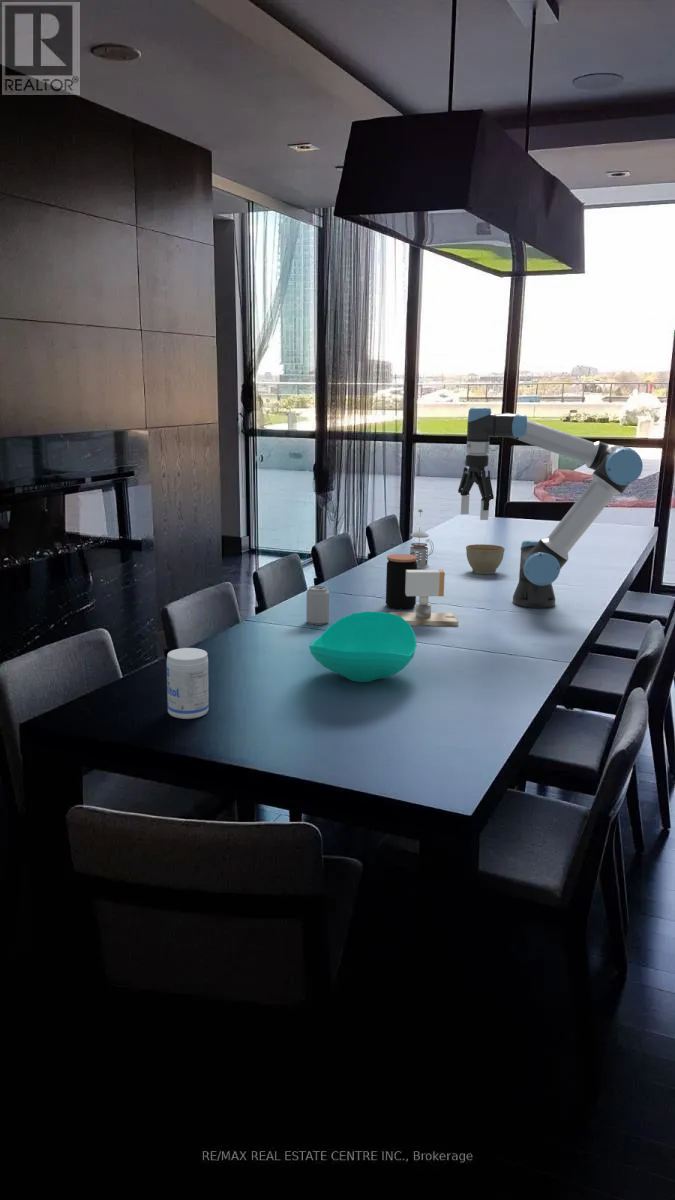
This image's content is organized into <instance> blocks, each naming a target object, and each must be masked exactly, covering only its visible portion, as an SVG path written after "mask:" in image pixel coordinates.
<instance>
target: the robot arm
mask: <svg viewBox="0 0 675 1200" xmlns="http://www.w3.org/2000/svg"><path fill="white" fill-rule="evenodd" d="M466 429H467V431H466V445H465V447H466V456H465V465H466V466H464V467H463V473H462V477H461V479H460V483H459V486H458V490H457V493H459V494H460V496H461V498H460V502H461V503H460V515H461V516H462V515H469V513H470V511H469V510H470V491H471V490H472V487H473V485H474V484H475V485H477V487H478V489H479V494H480V496H481V499H480V514H479V520H480V521H488V520H489V512H490V511H489V510H490V501H491V500H494V491H493V486H492V479H491V471H490V470H487V469H486V467H488V466H489V455H488V454H489V453H490V437H492V438H494V437H495V438H502V437H503V438H511V439H515V440H518V441H521V442H523V443H526V444H528V445H532V446H535V447H538V448H541V449H544V450H546V451H549V452H552V453H554V454H557V455H559V456H563V457H565V458H569V459H571V460H574V461H578V462H579V463H583V464H585V466H586V467H587V468H588V469H591V470H593V472H592V481H591V482H590V483H589V485H588V486H587V487H586V488H585V489H584V491H583V492H582V494H581V495H580V496H579V497H578V499H577V500H576V501H575V502H574V503H573V505H572V506H571V507H570V508H569V510H568V511H567V513H565V515H564V516H563V517H562V519H561V520H560V521H559V523H557V524H556V526H555V528H554V529H553V530H552V531H551V533H550V534H549V535H548V536H547V537H543V538H540V539H539V540H523V541H522V542H521V545H520V562H519V572H518V573H519V575H518V583H517V586H516V587H515V589H514V593H513V594H512V595H513V596H512V603H513V604H514V605H517V606H519V607H520V606H521V607H524V608H531V609H547V608H546V607H548V608H551V606H553V607H554V605H555V606H556V599H557V598H556V595H555V591H554V587H553V583H554V582H555V581H556V580H557V579H558V577H559V576H560V573H561V569H563V567H564V565H565V564H566V563H567V562H568V560H569V552H570V551H571V550H572V548H573V547H574V546H575V545H576V544H577V542H578V541H579V540H580V538H581V537H582V536H583V535H584V533H586V531H587V530H588V528H589V527H591V525H592V523H593V522H594V521H595V520H596V519H597V518H598V516H599V515H600V513H602V511H603V510H604V508H605V507H606V506H607V505H608V504H609V502H610V501H611V500H612V499H613V497H616V496H620V495H622V494H623V493H624V491H625V490H626V489H627V488H628V487H629V485H631V484H633V483H635V482H636V481H637V480H638V479H639V478H640V476H641V474H642V473H643V460H642V458H641V456H640V455H639V454H638V452H637V451H636V450H634V449H632V448H631V447H626V446H623V445H616V444H611V443H606V442H602V441H600V440H598V441H595V442H593V441H590V440H588V439H585V438H582V437H578V436H576V435H574V434H570V433H568V432H564V431H562V430H559V429H555V428H553V427H550V426H547V425H545V424H541V423H538V422H536V421H533V420H529V419H528V417H527V415H526V414H522V413H521V414H520V413H512V412H504V413H492V408H490V407H471V408H470V409H468V415H467V428H466Z"/></svg>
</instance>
